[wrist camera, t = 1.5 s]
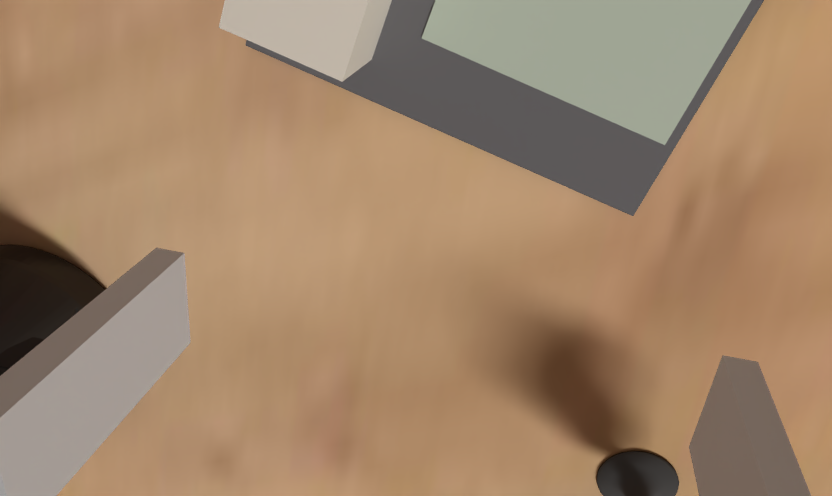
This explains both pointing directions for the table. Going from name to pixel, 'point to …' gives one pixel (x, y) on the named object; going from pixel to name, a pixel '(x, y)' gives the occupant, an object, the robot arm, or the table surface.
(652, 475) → the sundae
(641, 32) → the mat
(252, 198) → the table surface
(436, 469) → the table surface
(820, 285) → the table surface
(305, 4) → the rubber eraser
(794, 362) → the table surface
